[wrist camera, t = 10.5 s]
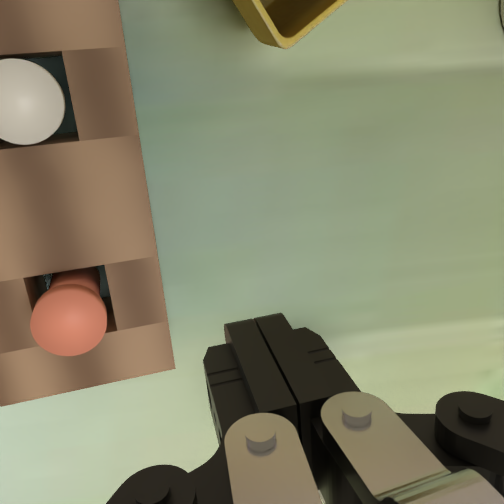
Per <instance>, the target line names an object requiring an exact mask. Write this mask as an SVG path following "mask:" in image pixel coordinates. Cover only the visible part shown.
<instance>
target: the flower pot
mask: <svg viewBox="0 0 504 504" xmlns="http://www.w3.org/2000/svg"><path fill="white" fill-rule="evenodd" d="M232 1H233V2H234V4H235V6H236V7H237V9H238V10H239V12H240V14H241V15H242V17H243V18H244V20H245V22H246V23H247V25H248V27H249V28H250V30H251V32H252V33H253V35H254V36H255V37H256V38H257V39H258V40H259V41H260V42H262V43H264V44H267V45H270V46H274V47H278V48H283V49H288V48H290V47H291V46H293V45H294V44H295V43H297V42H298V41H299V40H300V39H301V38H303V37H304V36H305V35H306V34H308V33H309V32H310V31H311V30H312V29H313V28H315V27H316V26H317V25H318V24H319V23H321V22H322V21H323V20H324V19H325V18H327V17H328V16H329V15H330V14H331V13H333V12H334V11H335V10H336V9H338V8H339V7H340V6H341V5H342V4H344V3H345V2H346V1H347V0H232Z"/></svg>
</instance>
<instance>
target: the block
mask: <svg viewBox="0 0 504 504" xmlns="http://www.w3.org/2000/svg"><path fill="white" fill-rule="evenodd" d="M53 56H63V60H64V65H65V70H66V75H67V80H68V85H69V90H70V95H71V100H72V105H73V110H74V115H75V120H76V125H77V130H78V132H71V133H62V134H52V135H51V136H50V137H48V138H47V139H45V140H43V141H41V142H38V143H35V144H27V145H22V144H15V143H11V142H8V141H5V140H3V139H1V138H0V406H6V405H11V404H15V403H20V402H24V401H29V400H34V399H38V398H43V397H47V396H52V395H57V394H61V393H66V392H70V391H75V390H80V389H84V388H89V387H93V386H98V385H102V384H107V383H112V382H116V381H121V380H125V379H130V378H135V377H139V376H144V375H148V374H153V373H158V372H162V371H167V370H171V369H175V363H174V357H173V350H172V344H171V337H170V331H169V324H168V318H167V312H166V305H165V299H164V292H163V286H162V279H161V273H160V267H159V260H158V254H157V247H156V241H155V234H154V228H153V222H152V215H151V209H150V202H149V196H148V189H147V183H146V177H145V170H144V164H143V157H142V151H141V144H140V138H139V132H138V125H137V119H136V112H135V106H134V99H133V93H132V87H131V80H130V74H129V67H128V61H127V54H126V48H125V42H124V35H123V29H122V22H121V16H120V9H119V3H118V0H0V60H3V59H24V58H38V57H53ZM98 265H104V266H105V271H106V276H107V281H108V286H109V291H110V296H111V297H106V298H102V300H103V302H104V304H105V306H106V310H107V327H106V331H105V334H104V336H103V338H102V340H101V341H100V342H99V343H98V344H97V345H96V346H95V347H94V348H93V349H91V350H90V351H88V352H86V353H83V354H80V355H76V356H60V355H55V354H52V353H50V352H48V351H46V350H44V349H43V348H42V347H40V346H39V345H38V344H37V342H36V341H35V340H34V338H33V336H32V333H31V329H30V320H31V316H32V313H33V310H34V307H35V305H36V302H37V301H38V299H39V298H40V297H41V296H42V295H43V294H44V293H45V292H46V291H47V288H46V284H45V280H44V276H43V274H49V273H56V272H62V271H68V270H74V269H80V268H86V267H92V266H98Z"/></svg>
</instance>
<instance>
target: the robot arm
mask: <svg viewBox="0 0 504 504" xmlns="http://www.w3.org/2000/svg"><path fill="white" fill-rule="evenodd" d="M501 18H502V24H503V27H504V0H501ZM224 331H225V340H226V344H222V345H217V346H212V347H208V350H207V352H206V355H205V357H204V360H203V363H204V370H205V376H206V383H207V390H208V397H209V403H210V410H211V414H212V418H213V422H214V426H215V430H216V435H217V438H218V443H219V448H218V450H217V451H216V453H215V454H214V455H213V456H212V457H211V458H210V459H209V460H208V461H207V462H206V463H205V464H203V465H201V466H200V467H198V468H196V469H195V470H193V471H191V472H189V473H187V472H186V471H185V470H183V469H181V468H179V467H177V466H172V465H156V466H151V467H148V468H145V469H143V470H140V471H138V472H137V473H135V474H133V475H132V476H130V477H129V478H128V479H127V480H126V481H125V482H124V483H123V484H122V485H121V486H120V487H119V488H118V490H117V491H116V492H115V493H114V494H113V496H112V497H111V498H110V499H109V501H108V502H107V503H106V504H323V503H322V501H321V498H320V495H319V492H318V490H320V492H321V494H322V496H323V498H324V501H325V504H504V401H503V400H500V399H496V398H493V397H490V396H487V395H484V394H480V393H475V392H467V391H461V392H453V393H450V394H447V395H445V396H443V397H442V398H441V399H440V400H439V401H438V402H437V404H436V411H435V414H402V413H395V412H394V411H393V410H392V409H391V408H390V407H389V406H388V405H387V404H386V403H385V402H384V401H383V400H381V399H380V398H378V397H376V396H374V395H371V394H368V393H364V392H361V391H360V390H359V388H358V387H357V386H356V384H355V383H354V381H353V380H352V379H351V377H350V376H349V375H348V373H347V372H346V371H345V369H344V368H343V366H342V365H341V364H340V362H339V361H338V360H336V357H335V356H334V354H333V353H332V351H331V350H329V347H328V346H327V345H326V343H325V342H324V340H323V339H322V338H321V336H320V335H318V334H316V333H314V332H313V331H311V330H309V329H307V328H306V327H304V328H299V329H294V330H293V329H292V328H291V326H290V324H289V323H288V321H287V320H286V318H285V317H284V315H283V314H282V313H277V314H272V315H267V316H262V317H257V318H254V319H247V320H242V321H237V322H232V323H227V324H224Z"/></svg>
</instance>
